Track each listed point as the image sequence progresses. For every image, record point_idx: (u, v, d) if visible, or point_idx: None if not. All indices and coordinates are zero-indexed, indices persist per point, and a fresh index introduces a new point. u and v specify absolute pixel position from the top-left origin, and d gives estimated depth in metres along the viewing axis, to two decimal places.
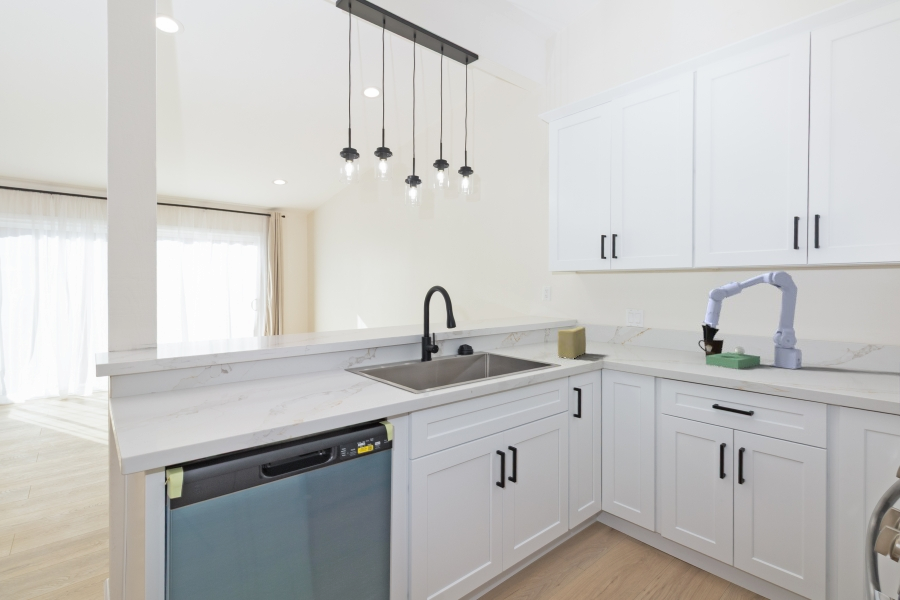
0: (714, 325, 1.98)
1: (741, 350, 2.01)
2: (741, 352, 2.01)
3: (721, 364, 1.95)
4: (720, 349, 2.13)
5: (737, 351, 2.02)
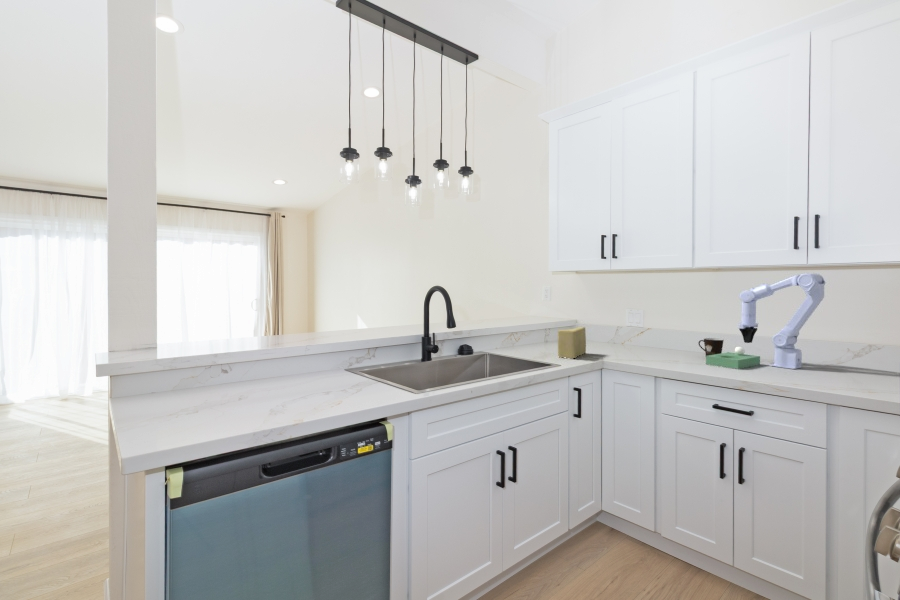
0: (741, 326, 2.03)
1: (741, 350, 2.01)
2: (741, 352, 2.01)
3: (721, 364, 1.95)
4: (720, 349, 2.13)
5: (737, 351, 2.02)
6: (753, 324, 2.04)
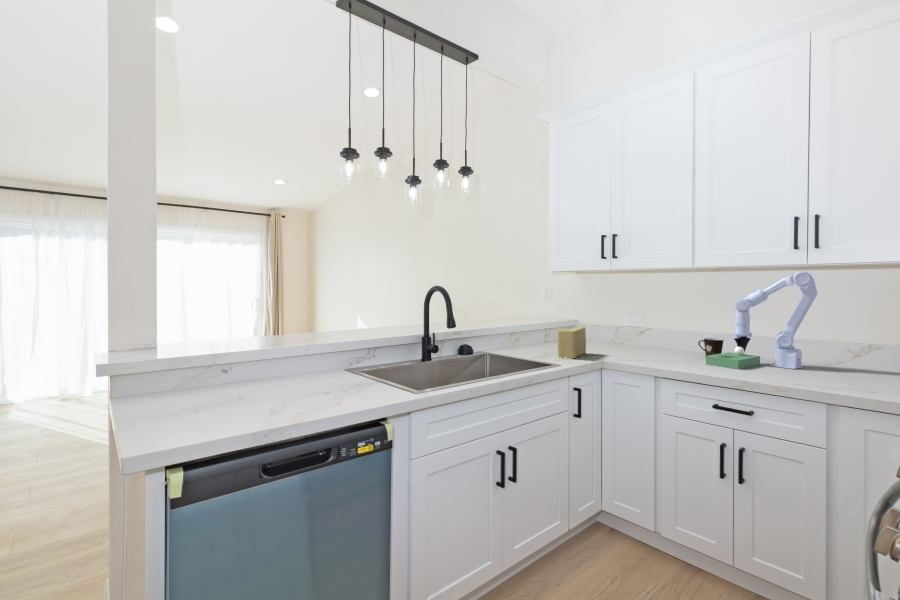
0: (734, 336, 2.00)
1: (741, 350, 2.01)
2: (741, 352, 2.01)
3: (721, 364, 1.95)
4: (720, 349, 2.13)
5: (737, 351, 2.02)
6: (747, 334, 2.01)
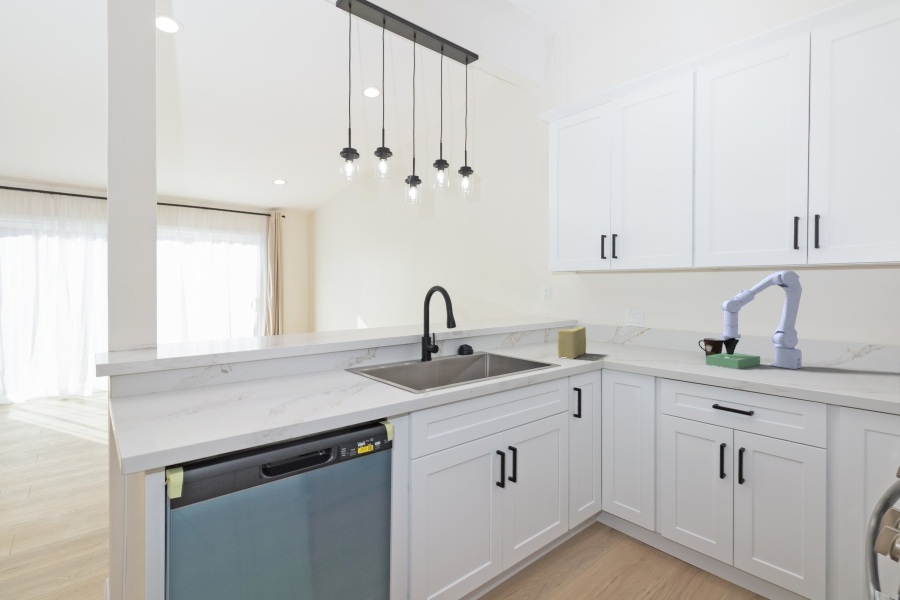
0: (722, 337, 1.95)
1: None
2: None
3: (721, 364, 1.95)
4: (720, 349, 2.13)
5: None
6: (735, 335, 1.96)
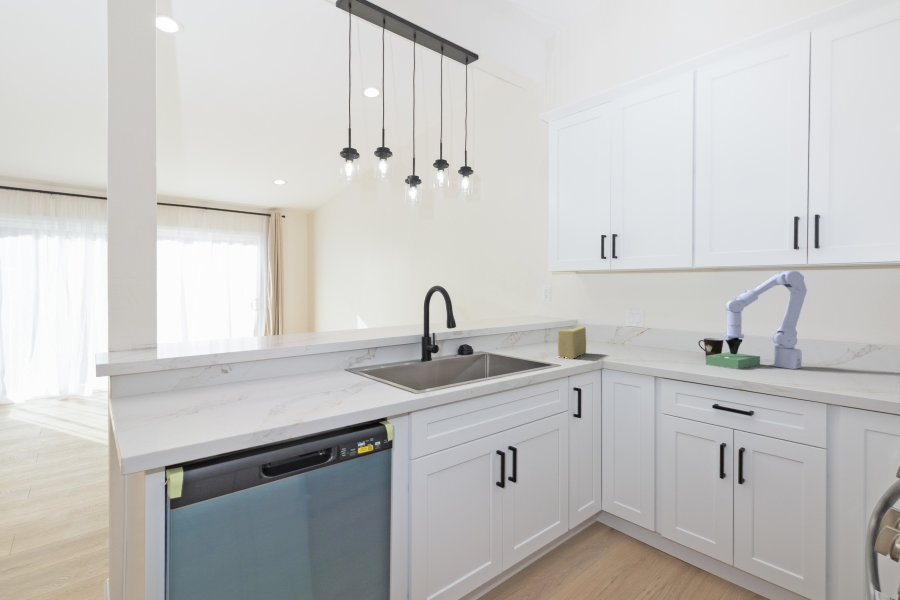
0: (726, 337, 1.96)
1: None
2: None
3: (721, 364, 1.95)
4: (720, 349, 2.13)
5: None
6: (739, 335, 1.97)
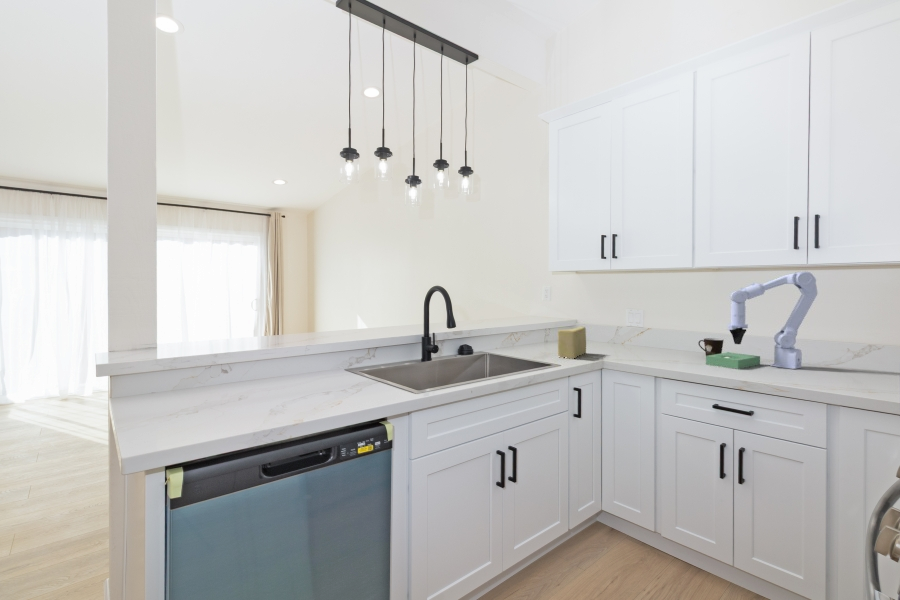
0: (730, 327, 1.98)
1: None
2: None
3: (721, 364, 1.95)
4: (720, 349, 2.13)
5: None
6: (742, 325, 1.99)
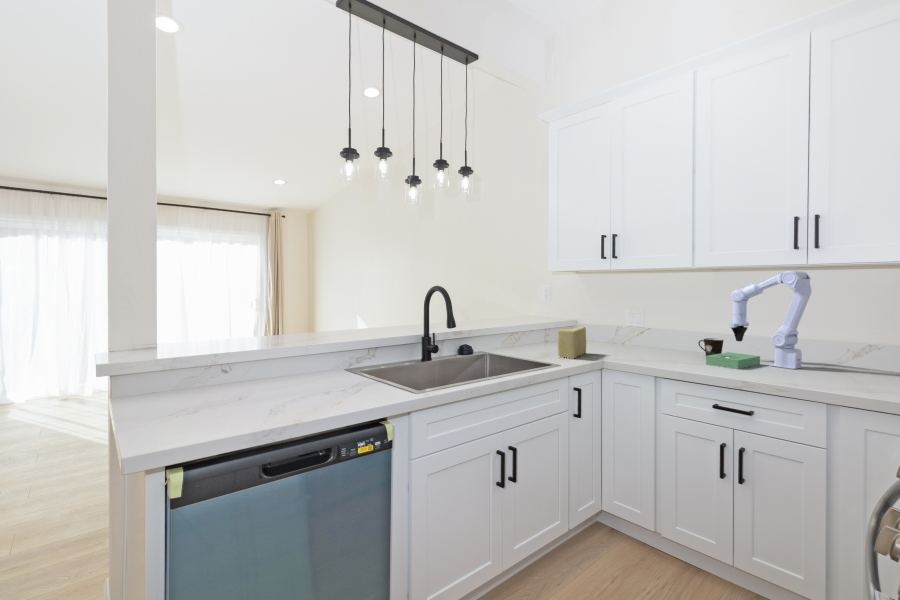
0: (732, 325, 2.08)
1: None
2: None
3: (721, 364, 1.95)
4: (720, 349, 2.13)
5: None
6: (744, 323, 2.09)
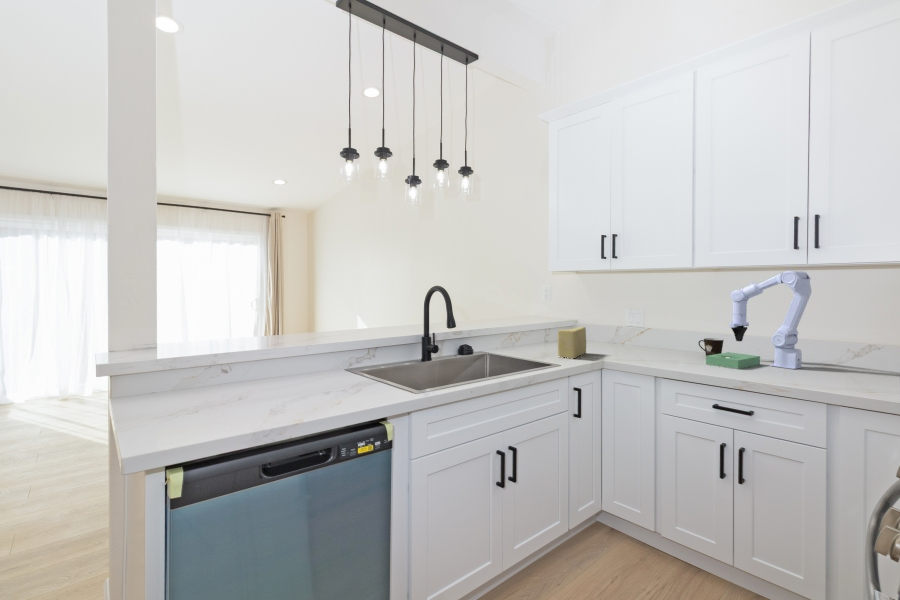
0: (732, 325, 2.08)
1: None
2: None
3: (721, 364, 1.95)
4: (720, 349, 2.13)
5: None
6: (744, 323, 2.09)
